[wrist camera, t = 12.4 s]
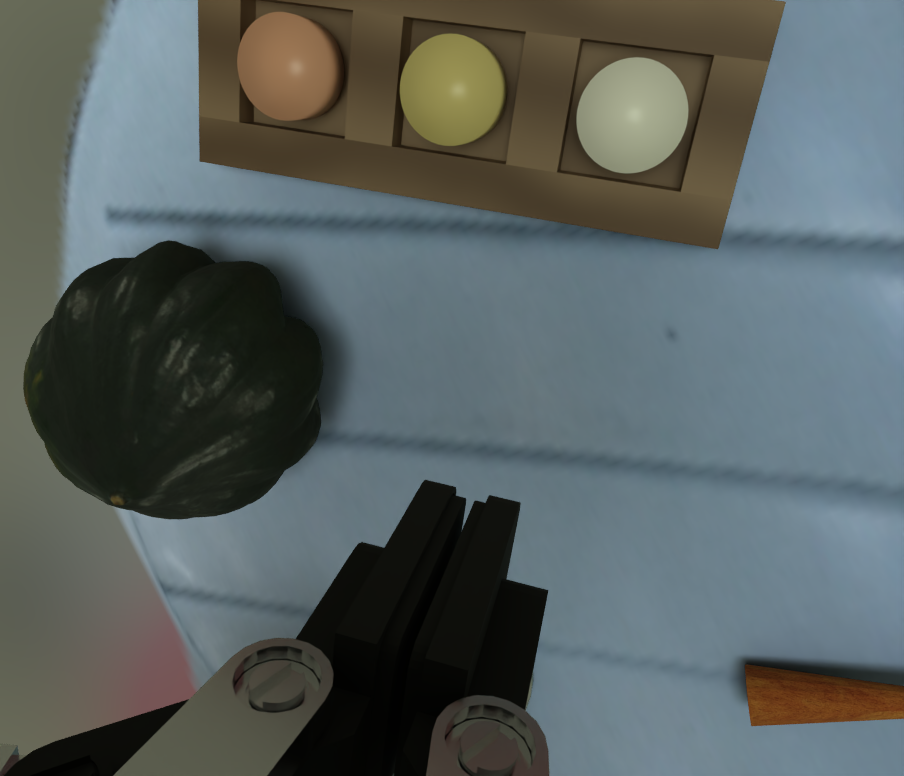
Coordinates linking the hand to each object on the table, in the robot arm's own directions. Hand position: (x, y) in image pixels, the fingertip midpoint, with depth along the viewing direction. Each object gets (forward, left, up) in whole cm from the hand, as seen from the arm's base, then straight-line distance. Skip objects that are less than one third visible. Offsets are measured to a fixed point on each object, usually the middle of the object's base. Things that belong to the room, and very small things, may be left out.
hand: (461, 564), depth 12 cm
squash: (-9, +19, -27) cm, 35 cm away
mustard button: (+7, +7, -25) cm, 27 cm away
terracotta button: (+7, +15, -25) cm, 30 cm away
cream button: (+7, -1, -25) cm, 26 cm away
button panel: (+7, +7, -27) cm, 29 cm away
